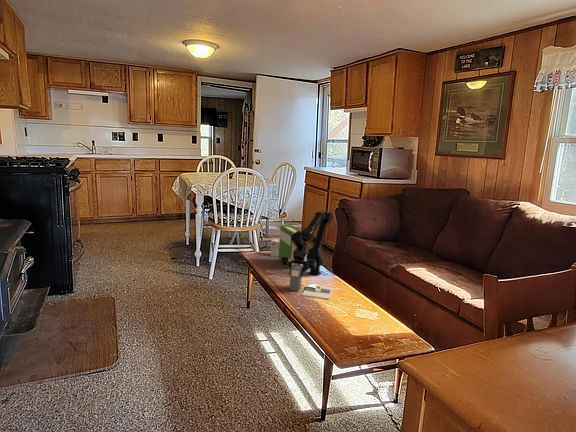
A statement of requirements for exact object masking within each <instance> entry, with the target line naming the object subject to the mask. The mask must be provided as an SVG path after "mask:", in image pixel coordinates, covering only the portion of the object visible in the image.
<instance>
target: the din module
mask: <svg viewBox="0 0 576 432" xmlns="http://www.w3.org/2000/svg"><path fill="white" fill-rule="evenodd" d="M302 267H303V265H300V266H299V265H293V266H292V267H291V273H290V272H289V278H290V279H289V291H294V292H295V291H296V292H299V291H300V288H301V287H302V277H303V276H302V277H301V278H300V274H301V271H302Z"/></svg>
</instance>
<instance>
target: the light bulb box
mask: <svg viewBox="0 0 576 432" xmlns="http://www.w3.org/2000/svg"><path fill="white" fill-rule="evenodd" d="M279 244H280V239H277V238H273V239H272V240H271V242H270V257H278V258H279Z"/></svg>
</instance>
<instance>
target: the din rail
mask: <svg viewBox="0 0 576 432" xmlns="http://www.w3.org/2000/svg"><path fill="white" fill-rule="evenodd" d="M305 288H306V290H309V291H315V290H316V288H313V287H307V286H306V287H305ZM321 292H324V293H330V292H331V290H328V289H321Z"/></svg>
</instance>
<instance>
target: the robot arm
mask: <svg viewBox="0 0 576 432" xmlns="http://www.w3.org/2000/svg"><path fill="white" fill-rule="evenodd" d="M333 220H334V214H333V213H332V212H330V211H324V210H322V211H316V212H315V214H314V216H313V218H312V220H311V221H310V222H309V224H308V226H307V227H305V228H303V229H302V230H301V232H300V231H297V232H296V233H294V234H293V235H291V240H292V242H293V243H294V245H295V246H297V247H296V250H294V251H293V258H294V260H292V259H289V257H286V256H282V257H281V266H284V265H287V267H289V269H288V270H289V274H290V273H291V267H292V263H294V264H300V265H301V266H302V271H301V274H300V278H301V277H303V275H304V274H305V273H306V272H307V270H309V272H307V274H308V275H312V276H316V277H317V276H319V275H321V274H322V272H321V271H320V267H322V266H323V265H324V261H325V260H324V258H323V257H322V256H323V253H322V247H323V243H324V240H325V236H326V233H327V228H329V226H330V225H331V224H332V222H333ZM316 231H317V232H316ZM315 232H316V235H315ZM314 238H315V239H314ZM312 241H314V242H313V246H312V247H308V244H307V243H312ZM308 248H309V249H308ZM307 249H308V252H307ZM305 257H306V258H305ZM305 259H306V260H305ZM287 267H286V268H287ZM301 279H302V278H301Z"/></svg>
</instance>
